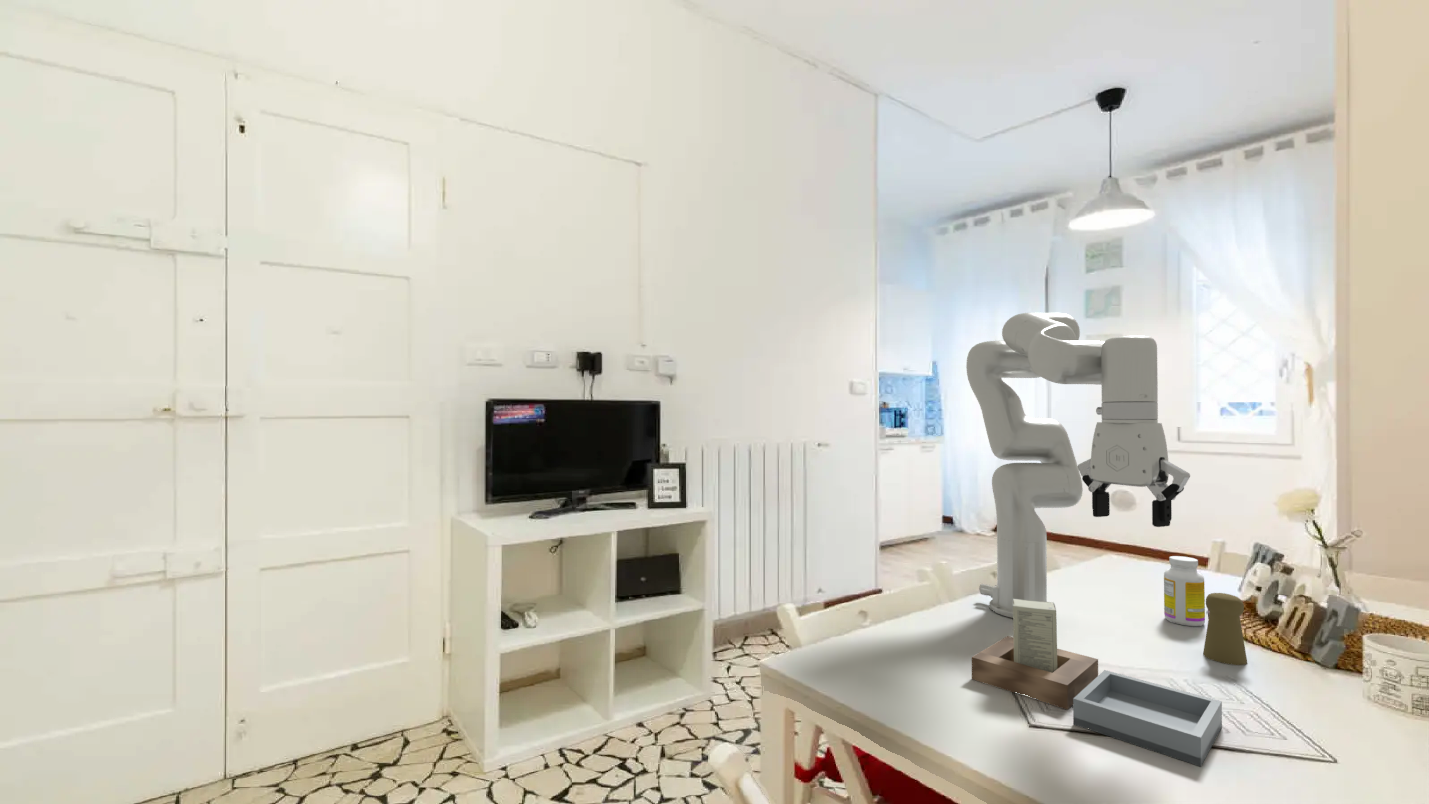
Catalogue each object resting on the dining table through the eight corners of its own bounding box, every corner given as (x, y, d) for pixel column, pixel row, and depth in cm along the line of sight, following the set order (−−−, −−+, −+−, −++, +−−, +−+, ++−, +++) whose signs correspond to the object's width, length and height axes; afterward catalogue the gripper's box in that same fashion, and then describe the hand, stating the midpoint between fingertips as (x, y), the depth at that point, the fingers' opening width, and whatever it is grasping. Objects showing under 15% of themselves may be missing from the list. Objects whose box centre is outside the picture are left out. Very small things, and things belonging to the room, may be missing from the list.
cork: (1255, 666, 106) (1255, 600, 106) (1215, 663, 107) (1214, 598, 108) (1234, 652, 112) (1233, 590, 112) (1195, 650, 113) (1195, 588, 114)
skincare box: (1056, 678, 101) (1056, 602, 101) (1058, 689, 97) (1058, 610, 97) (1012, 671, 104) (1012, 597, 104) (1012, 682, 100) (1012, 604, 100)
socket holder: (971, 679, 101) (971, 657, 101) (1007, 655, 110) (1007, 635, 110) (1067, 709, 91) (1067, 685, 91) (1098, 681, 100) (1098, 659, 100)
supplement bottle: (1209, 622, 128) (1208, 559, 128) (1199, 629, 124) (1199, 564, 124) (1170, 614, 133) (1169, 553, 134) (1159, 620, 129) (1159, 557, 129)
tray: (1073, 724, 86) (1073, 698, 86) (1104, 693, 96) (1104, 670, 96) (1201, 766, 76) (1200, 737, 76) (1221, 727, 86) (1221, 701, 86)
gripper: (1064, 413, 108) (1064, 514, 108) (1170, 414, 92) (1171, 532, 92) (1094, 413, 111) (1095, 511, 110) (1203, 414, 95) (1204, 528, 94)
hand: (1129, 521), depth 101 cm, fingers open, 9 cm apart
